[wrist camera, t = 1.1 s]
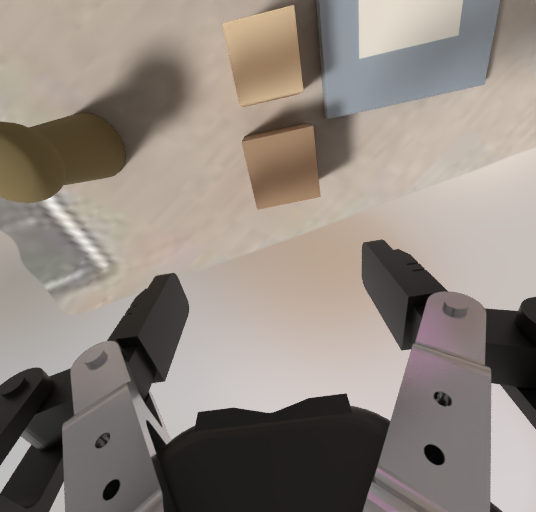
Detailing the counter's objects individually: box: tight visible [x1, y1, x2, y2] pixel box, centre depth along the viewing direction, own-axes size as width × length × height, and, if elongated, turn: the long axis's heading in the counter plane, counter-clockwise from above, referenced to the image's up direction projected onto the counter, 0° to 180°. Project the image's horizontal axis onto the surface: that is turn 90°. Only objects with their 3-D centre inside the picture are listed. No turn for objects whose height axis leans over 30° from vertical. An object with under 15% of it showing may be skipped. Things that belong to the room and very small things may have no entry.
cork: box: [0, 113, 126, 203], centre depth 21 cm, size 6×6×11 cm
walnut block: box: [242, 123, 320, 210], centre depth 25 cm, size 6×6×5 cm
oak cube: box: [222, 5, 303, 107], centre depth 21 cm, size 5×5×5 cm
